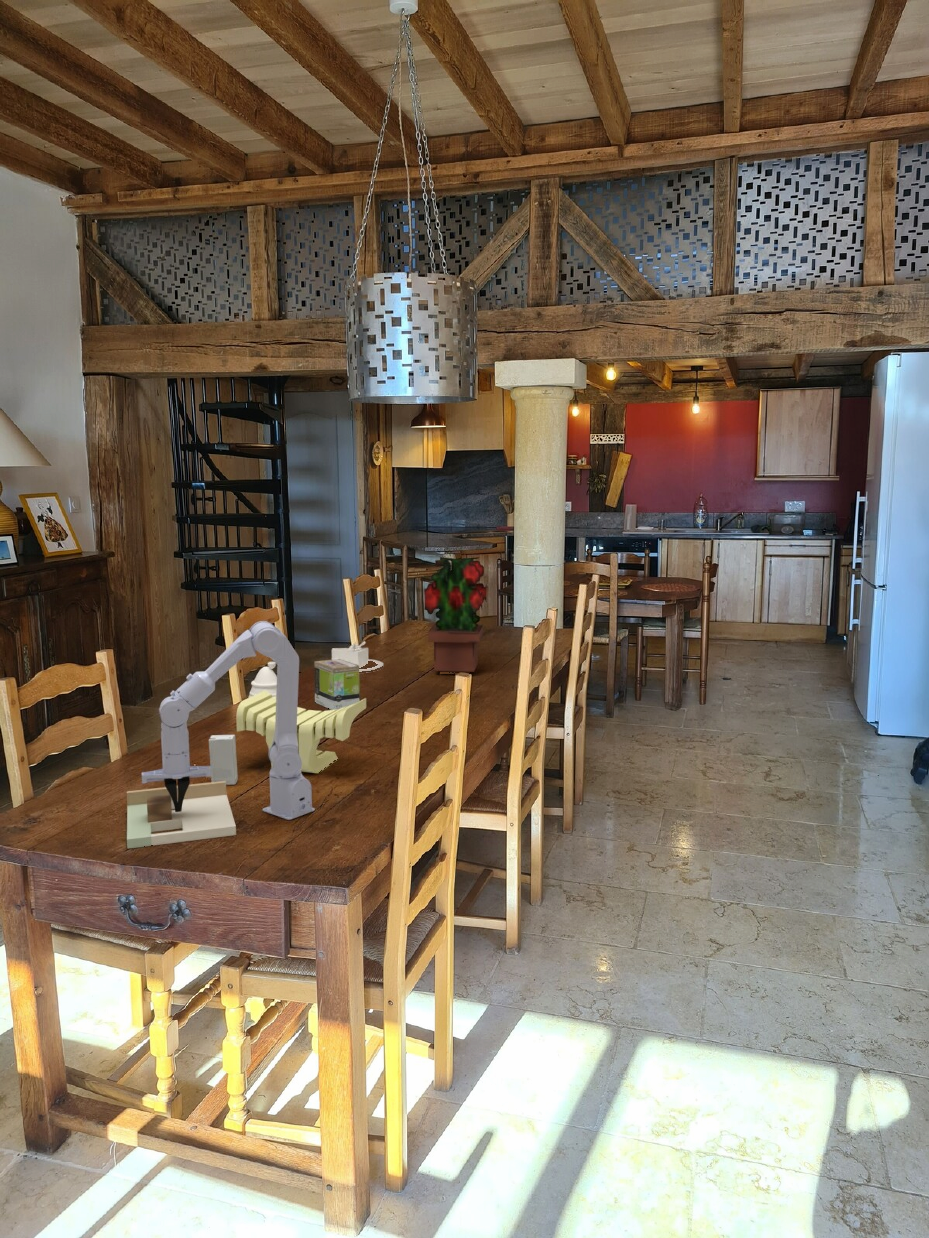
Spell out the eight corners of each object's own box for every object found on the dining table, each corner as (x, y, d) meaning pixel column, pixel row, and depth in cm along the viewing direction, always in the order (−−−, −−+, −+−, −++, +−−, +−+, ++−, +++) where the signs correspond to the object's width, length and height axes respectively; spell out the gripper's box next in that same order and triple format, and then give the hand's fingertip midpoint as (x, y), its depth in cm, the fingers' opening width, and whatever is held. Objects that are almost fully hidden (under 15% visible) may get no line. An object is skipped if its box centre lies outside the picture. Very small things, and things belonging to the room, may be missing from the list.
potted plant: (486, 666, 370) (486, 556, 363) (481, 678, 348) (482, 561, 341) (432, 665, 372) (431, 556, 365) (424, 677, 350) (424, 561, 343)
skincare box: (238, 779, 231) (236, 733, 229) (235, 785, 227) (233, 738, 225) (213, 780, 231) (211, 734, 229) (210, 786, 226) (208, 739, 224)
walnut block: (171, 811, 203) (170, 794, 203) (172, 819, 199) (171, 802, 198) (147, 814, 202) (146, 797, 201) (147, 822, 197) (146, 804, 196)
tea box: (360, 708, 303) (360, 664, 301) (333, 712, 298) (332, 668, 295) (340, 699, 316) (339, 657, 313) (314, 703, 310) (313, 660, 308)
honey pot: (292, 713, 297) (291, 659, 294) (281, 723, 284) (279, 667, 281) (254, 711, 298) (252, 658, 295) (241, 722, 285) (239, 666, 282)
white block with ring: (392, 663, 378) (391, 636, 376) (369, 675, 354) (369, 647, 352) (337, 660, 384) (337, 633, 383) (311, 672, 361) (311, 644, 359)
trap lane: (226, 800, 216) (225, 780, 215) (236, 834, 195) (235, 812, 195) (127, 812, 208) (126, 791, 208) (127, 848, 188) (126, 825, 187)
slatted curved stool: (238, 769, 239) (235, 703, 236) (267, 752, 254) (265, 690, 252) (343, 780, 231) (342, 712, 228) (367, 761, 246) (366, 697, 243)
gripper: (140, 759, 193) (143, 820, 195) (211, 753, 198) (213, 812, 200) (140, 750, 200) (143, 809, 202) (208, 744, 205) (211, 801, 207)
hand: (178, 810), depth 201 cm, fingers closed
